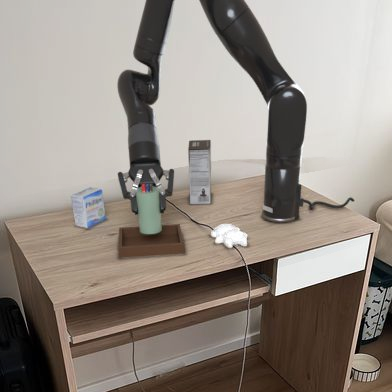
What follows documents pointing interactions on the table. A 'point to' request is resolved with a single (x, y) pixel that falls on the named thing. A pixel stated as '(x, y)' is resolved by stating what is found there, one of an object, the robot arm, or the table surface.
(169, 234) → the tray
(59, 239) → the table surface
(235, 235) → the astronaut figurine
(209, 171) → the coffee box
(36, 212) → the table surface
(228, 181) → the table surface
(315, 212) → the table surface
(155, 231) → the pen pot
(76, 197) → the medicine box
